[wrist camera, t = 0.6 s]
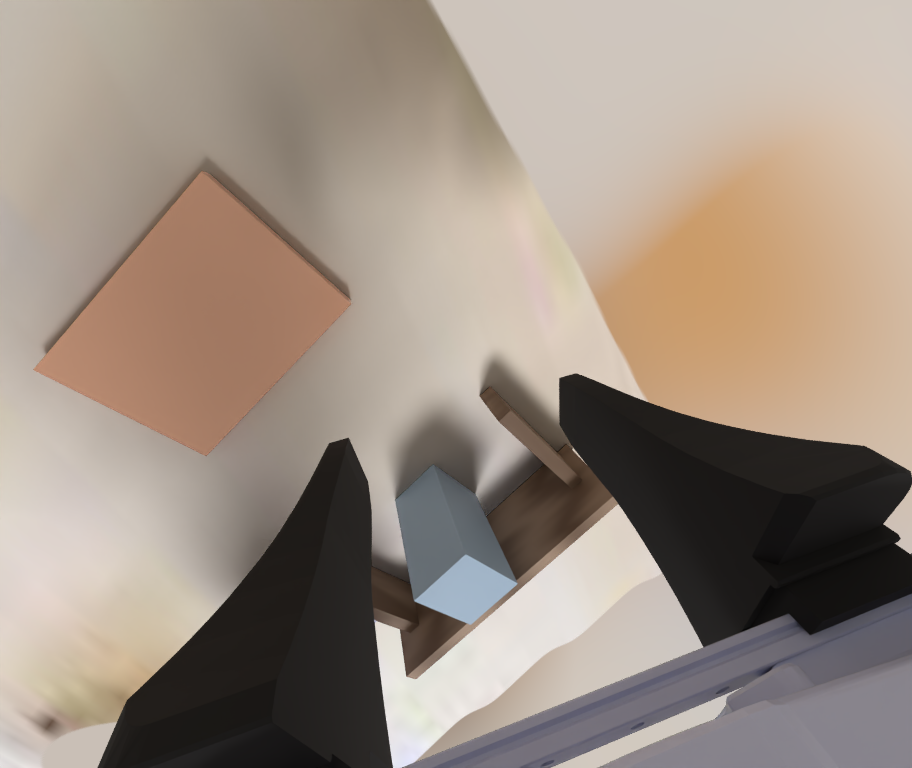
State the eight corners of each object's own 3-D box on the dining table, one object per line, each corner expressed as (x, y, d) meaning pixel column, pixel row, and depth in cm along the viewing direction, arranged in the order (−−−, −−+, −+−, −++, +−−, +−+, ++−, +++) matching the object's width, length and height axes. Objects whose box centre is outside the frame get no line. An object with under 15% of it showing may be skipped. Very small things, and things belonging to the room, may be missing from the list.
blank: (440, 526, 29) (470, 624, 22) (395, 500, 26) (413, 601, 20) (475, 494, 28) (517, 583, 22) (433, 464, 26) (465, 554, 19)
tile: (211, 446, 21) (206, 456, 20) (48, 361, 17) (33, 369, 16) (350, 300, 20) (350, 304, 19) (209, 173, 16) (201, 171, 15)
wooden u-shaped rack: (404, 602, 31) (416, 679, 26) (306, 562, 27) (297, 647, 21) (572, 450, 29) (621, 500, 24) (500, 376, 24) (542, 419, 19)
